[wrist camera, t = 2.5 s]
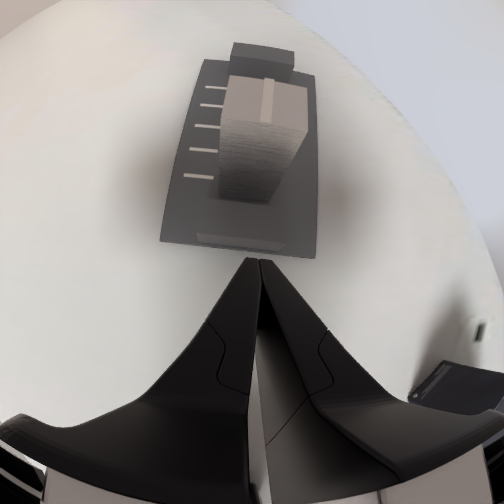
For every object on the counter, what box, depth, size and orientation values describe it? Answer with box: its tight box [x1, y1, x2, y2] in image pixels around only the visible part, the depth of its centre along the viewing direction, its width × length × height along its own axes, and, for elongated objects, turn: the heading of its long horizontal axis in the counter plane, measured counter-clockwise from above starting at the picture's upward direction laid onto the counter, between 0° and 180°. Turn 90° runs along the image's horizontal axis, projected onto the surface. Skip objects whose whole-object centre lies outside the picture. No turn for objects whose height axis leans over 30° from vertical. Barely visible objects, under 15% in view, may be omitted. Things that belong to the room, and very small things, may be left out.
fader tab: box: [218, 75, 308, 202], centre depth 16 cm, size 3×4×10 cm
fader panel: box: [160, 42, 318, 259], centre depth 21 cm, size 20×12×3 cm, turn 175°
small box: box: [408, 360, 504, 448], centre depth 15 cm, size 11×6×10 cm, turn 31°
